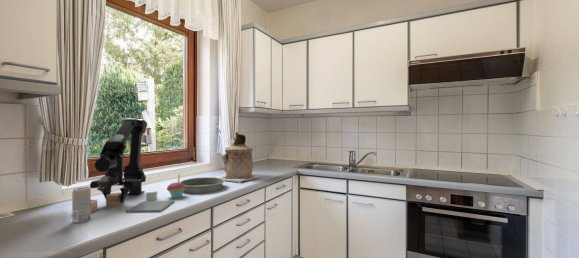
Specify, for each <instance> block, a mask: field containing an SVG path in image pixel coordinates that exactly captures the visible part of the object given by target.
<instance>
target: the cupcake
mask: <svg viewBox="0 0 579 258" xmlns="http://www.w3.org/2000/svg"><path fill="white" fill-rule="evenodd" d="M180 177H181V173H179V174H178V178H177V182H171V184H168V186H167V187H166V190H167V192H169V193H170V196H171V198H172V199H173V198H175V199H177V198H182V196H183V193H184V192H183V191H184V190H185V187H186V186H185V185H184V184H183V183H181V181H180ZM179 182H180V183H179Z"/></svg>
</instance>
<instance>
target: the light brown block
mask: <svg viewBox="0 0 579 258" xmlns="http://www.w3.org/2000/svg"><path fill="white" fill-rule="evenodd" d="M97 211H98V200H97V199H91V214H93V213H96V212H97Z"/></svg>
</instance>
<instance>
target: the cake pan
mask: <svg viewBox="0 0 579 258" xmlns="http://www.w3.org/2000/svg"><path fill="white" fill-rule="evenodd" d="M180 182H181V183H183V184H184V185H185V186H186V187H185V190H184V191H183V193H187V194H205V193H212V192H217V191H220V190H221V189H222V187H223V184H224V182H225V180H224V179H221V178H214V176H212V177H209V176H208V177H207V176H206V177H194V178H193V177H192V178H186V179H183V180H181V181H179V183H180Z"/></svg>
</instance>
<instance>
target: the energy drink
mask: <svg viewBox="0 0 579 258" xmlns="http://www.w3.org/2000/svg"><path fill="white" fill-rule="evenodd" d="M91 193H92V191H91V188H90V186H89V187H88V186H87V187H76V188H73V189H72V193H71V194H72V195H71V196H72V199H71V206H72V208H71V209H72V211H71V214H72V217H71V218H72V221H71V222H72V223H74V224H81V223H87V222H88V221H90V220H91V218H92V217H91V215H92V213H91V200H92V198H91V196H92V195H91Z"/></svg>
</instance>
